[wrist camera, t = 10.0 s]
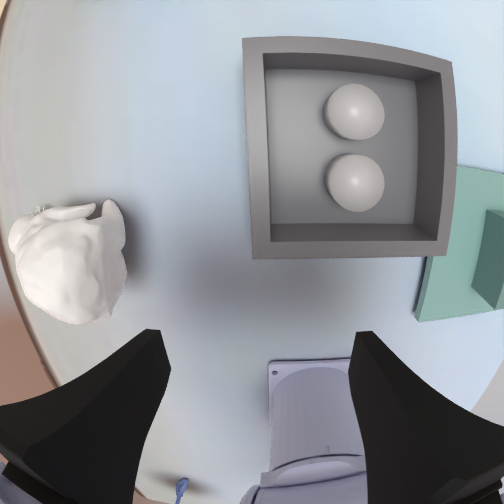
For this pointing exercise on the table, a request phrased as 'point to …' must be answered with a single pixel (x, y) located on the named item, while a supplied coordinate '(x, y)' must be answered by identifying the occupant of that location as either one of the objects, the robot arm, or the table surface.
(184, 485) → the baby rattle
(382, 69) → the storage box
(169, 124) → the table surface
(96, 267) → the white lumpy piece
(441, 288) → the lid
